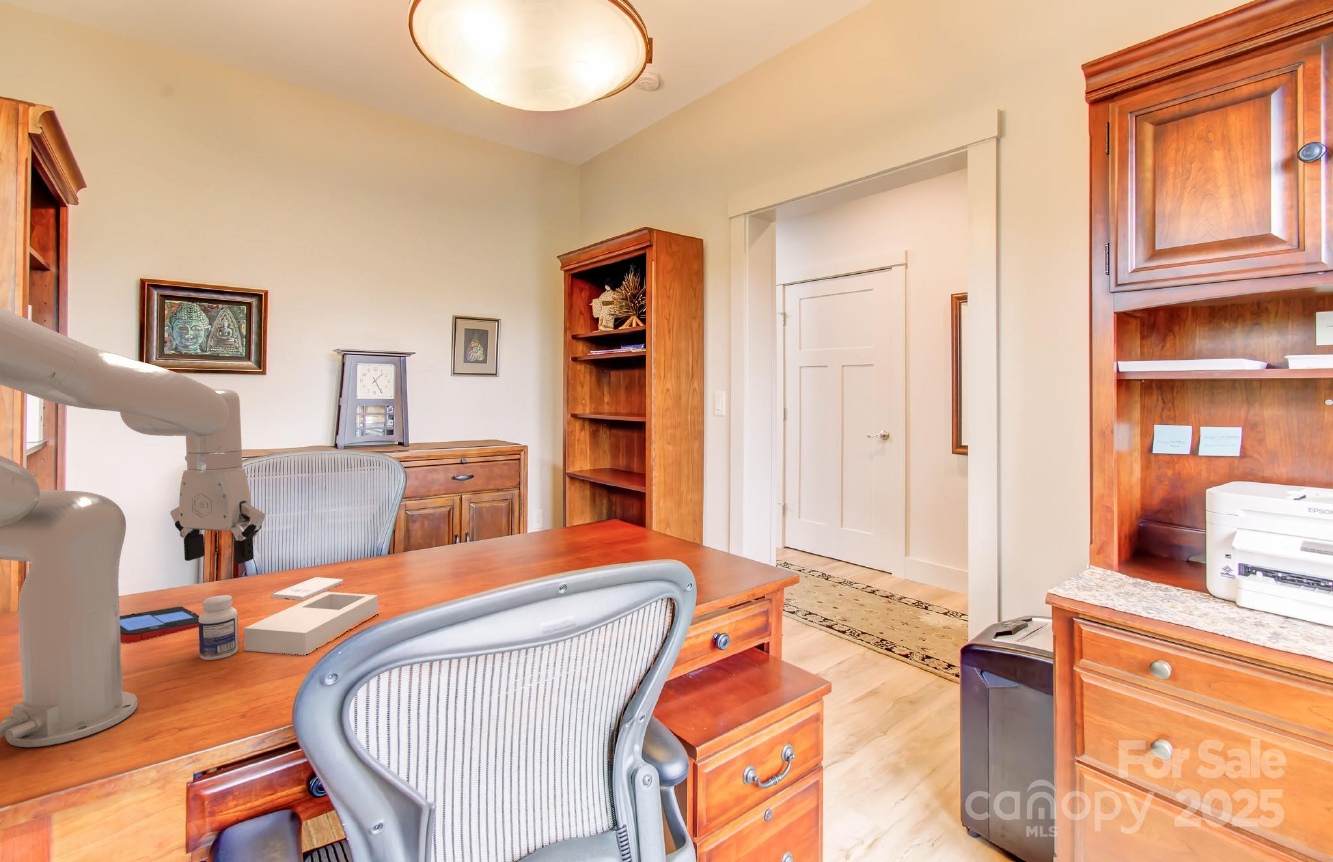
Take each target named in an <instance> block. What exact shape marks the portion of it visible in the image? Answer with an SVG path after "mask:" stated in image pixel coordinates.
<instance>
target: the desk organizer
mask: <svg viewBox="0 0 1333 862" xmlns="http://www.w3.org/2000/svg"><path fill="white" fill-rule="evenodd" d="M376 612H378V613H379V595H377V594H366V593H365V594H364V593H350V592H349V593H348V592H334V591H333V592H332V591H325V592H322V593H320V594H317V595H315V596H313V597H310V598H308V599H305V600H303V601H301V602H298V603H297V604H295V605H292V606H291V607H287V608H286V609H283V610H282V611H279V612H277V613H275V614H272V615H270V616H268V617H266V618H264V619H261V620H259V621H257V622H254V623H253V624H252V623H251V625H248V626H245V627H244V628H243V636H244V637H243V639H244V640H243V644H244V647H243V648H244V649H243V650H244V651H247V652H249V651H250V652H260V653H270V654H282V653H283V655H295V654H296V656H307V655H306V654H307V653H309V652H310V651H312V650H313V649H316V648H317V647H318V646H320V645H321V644H323V643H325V642H327V641H328V640H330V639H331V638H332V637H334V636H337V635H339V634H340V633H341V632H344V631H345V630H346V629H348V628H349V627H352V626H353V625H354V624H357V623H358V622H359V621H361V620H362V619H365V618H367V617H369V616H371V615H372V614H375V613H376ZM284 653H285V654H284ZM297 654H298V655H297ZM303 654H304V655H303Z"/></svg>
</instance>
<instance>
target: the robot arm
mask: <svg viewBox="0 0 1333 862" xmlns="http://www.w3.org/2000/svg"><path fill="white" fill-rule="evenodd" d="M0 386H3V387H5V388H9V389H11V390H14V391H15V390H16V391H18V392H20V393H24V394H26V395H29V396H32V397H36V398H38V399H41V400H44V401H48V402H50V403H54V404H58V405H64V406H67V407H75V408H80V409H87V410H88V409H89V410H98V411H99V410H100V411H106V412H107V411H111V412H116V413H117V412H118V413H119V415H120V418H121V420H122V422H123V423H124V424H125V426H127V427H128V428H129V429H131V430H133V431H134V432H136V433H138V434H143V435H146V436H148V435H149V436H159V437H161V436H163V437H164V436H167V437H174V436H176V437H185V446H186V447H185V448H186V449H185V450H186V451H185V452H186V453H185V454H186V455H185V456H184V460H185V461H186V469H185V470H183V472H182V476H181V481H180V488H179V499H178V503H179V505H178V507H176V508H174V509H172V510H171V511H170V516H171V518H172V520H173V522H174V526H175V528H176V529H177V530H178V531H179V536H180V538H182V539H183V551H184V560H185V562H186V561H187V562H190V561H193V560H197V559H199V558H203V557H204V556H205V555H206V554H205V551H206V550H205V536H204V533H201V532H202V531H220V532H221V531H227V530H230V531H231V533H232V534H233V535H234V536H235V538H236V539H237V540H234V542H233V547H234V549H233V550H234V552H233V553H234V563H235V564H236V565H240V564H245V563H247V562H249V561H252V560H253V559H254V557H255V556H254V554H255V553H254V538H256V537H257V533H259V531H260V530H261V529H262V525H263V522H264V520H265V518H266V514H265V513H264V512H262V511H261V510H259V509H257V508H256V507H255V506H252V499H251V492H250V485H249V481H248V477H247V473H246V470H245V469H244V468H243V450H242V449H243V447H242V445H243V444H242V431H241V430H242V428H241V427H242V426H241V425H242V424H241V423H242V422H241V401H240V396H239V394H238V393H237V392H236V391H234V390H232V389H231V390H230V389H224V388H223V389H218V388H215V389H214V388H211V387H210V386H207V385H205V384H204V383H202V382H200V381H197V380H195V379H194V378H191V377H188V376H186V375H183V374H181V373H178V372H176V371H173V370H169V369H167V368H163V367H162V366H161V367H160V366H157V365H153V364H151V363H147V362H142V361H139V360H136V359H133V358H129V357H127V356H124V355H120V354H118V353H117V354H116V353H113V352H110V351H106V350H102V349H99V348H95V347H93V346H90V345H87V344H86V343H83V342H80V341H77V340H76V339H73V338H71V337H69V336H67V335H64V334H62V333H59V332H58V331H55V330H53V329H50V328H48V327H46V326H44V325H41V324H39V323H37V322H34V321H32V320H30V319H27V318H26V317H24V316H20V315H18V314H16V313H13V312H12V311H9V310H7V309H5V308H2V307H0ZM241 528H242V529H241ZM126 531H127V521H126V516H125V513H124V512H123V509H122V508H121V507H120V506H119V505H118V504H117V503H116V502H115V501H113V500H112V499H110V498H108V497H106V496H104V495H101V494H97V493H93V492H88V491H83V490H81V491H80V490H78V491H77V490H60V489H59V490H58V489H57V490H56V489H40V485H39V482H38V481H37V479H36V477H35V476H34V475H33V474H32V473H31V472H30V471H29V470H28V469H27V468H25V467H24V466H23V465H21V464H19V463H17V462H16V461H13V460H11V459H9V458H7V457H5V456H2V455H0V560H3V561H4V560H5V561H14V562H15V561H19V562H30V563H31V565H30V568H29V571H28V573H27V575H26V577H25V580H24V582H23V584H22V586H21V589H20V592H19V596H18V621H19V637H20V639H19V641H20V661H21V662H20V665H21V684H22V685H21V688H22V689H21V690H22V701H21V702H18V703H16V704H13V705H12V706H11V708H12V713H11V714H9V715H7V716H6V717H5V719H4V720H1V721H0V739H1V738H3V737H5V739H6V742H7V743H9V745H12V746H15V747H21V748H22V747H23V748H34V747H35V748H37V747H38V748H39V747H47V746H52V745H58V744H62V743H67V742H72V741H74V740H79V739H82V738H85V737H88V736H91V735H93V734H96V733H99V732H101V731H103V730H106V729H109V728H111V727H113V726H115V725H117V724H119V723H121V722H122V721H124V720H125V719H127V718H128V717H129V716H130V715H132V714H134V712H135V710H137V707H138V697H137V695H136V694H134V693H131V692H130V691H123V673H122V668H123V667H122V645H121V644H122V642H121V639H120V616H121V613H120V611H121V610H120V598H119V597H120V595H119V594H120V593H119V578H120V577H119V573H120V561H121V554H122V550H123V545H124V542H125V536H126Z"/></svg>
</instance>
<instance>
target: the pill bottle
mask: <svg viewBox="0 0 1333 862" xmlns="http://www.w3.org/2000/svg"><path fill="white" fill-rule="evenodd" d="M232 605H233V596H231V595H228V594H224V595H223V594H222V595H214V596H210V597H208V598H206V599H203V602H202V606H203V607H202V608H203V610H204V611H203V612H202V613H201V614H200V615H199V627H198V643H199V644H198V648H199V650H198V651H199V657H200V659H201V660H204V661H213V660H214V661H215V660H219V659H223V658H227V657H231V656H232V655H234V654H236V653H237V652H238V650H239V623H238V622H239V621H238V610H237V609H236V608H234V607H232Z"/></svg>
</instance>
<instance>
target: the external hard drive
mask: <svg viewBox="0 0 1333 862" xmlns="http://www.w3.org/2000/svg"><path fill="white" fill-rule="evenodd" d="M342 583H345V582H344V579H342V578H333V577H332V578H331V577H319V576H315V577H313V578H310V579H307V580H305V581H302V582H299V583H297V584H293V585H292V586H289V587H286V588H284V589H281V590H279V591H277V592H274V593H272V594H270V598H271V597H272V599H279V598H283V599H282V600H290V599H298V600H297V601H301V600H303V599H305V600H307V599H306V598H308V597H310V598H312V597H311V596H313V595H315V596H317V595H319V594H318V593H320V594H321V592H322V593H324V592H323V591H325V590H327V591H329V590H328V589H330V588H332V589H334V588H335V587H334V586H337V587H339V586H340V585H339V584H342ZM338 585H339V586H338ZM342 585H343V584H342ZM333 587H334V588H333ZM330 590H331V589H330ZM325 592H326V591H325ZM316 594H317V595H316ZM313 597H314V596H313ZM284 598H285V599H284ZM286 598H287V599H286ZM308 599H309V598H308ZM303 601H304V600H303Z"/></svg>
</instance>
